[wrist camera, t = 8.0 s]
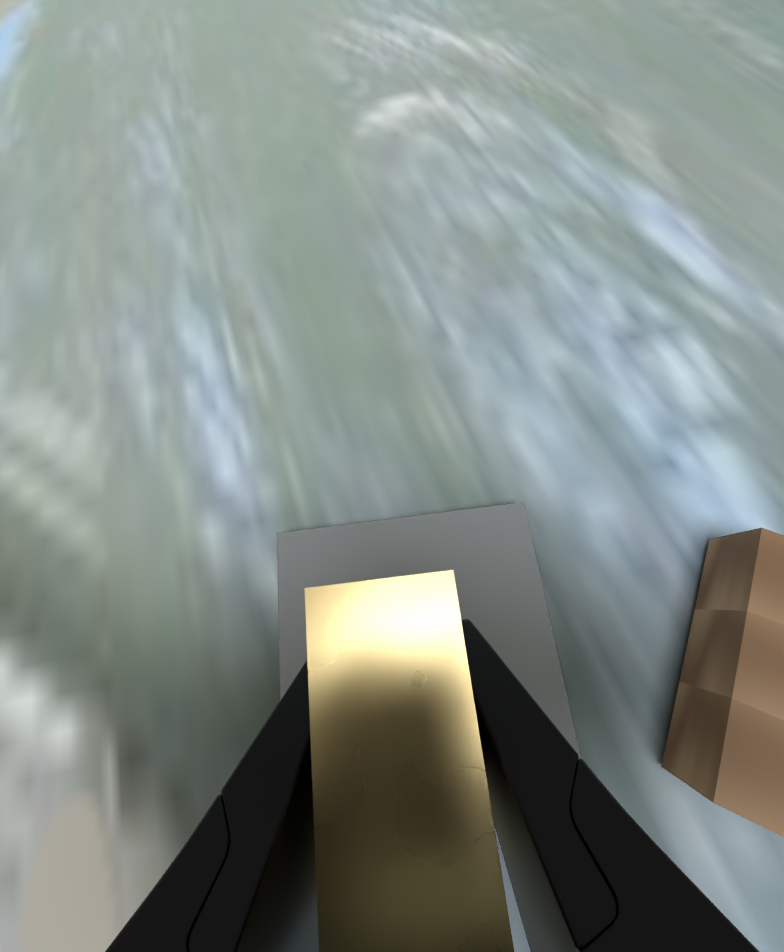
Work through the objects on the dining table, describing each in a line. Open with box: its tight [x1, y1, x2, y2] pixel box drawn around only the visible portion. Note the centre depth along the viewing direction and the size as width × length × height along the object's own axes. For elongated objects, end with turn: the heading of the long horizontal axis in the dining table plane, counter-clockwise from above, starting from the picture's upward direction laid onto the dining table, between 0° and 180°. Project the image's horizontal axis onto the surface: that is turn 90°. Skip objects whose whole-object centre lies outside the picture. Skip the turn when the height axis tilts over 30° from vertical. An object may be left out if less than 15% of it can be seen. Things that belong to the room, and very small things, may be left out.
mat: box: [277, 502, 581, 760], centre depth 17 cm, size 12×12×1 cm
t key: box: [305, 570, 514, 952], centre depth 10 cm, size 5×2×10 cm, turn 7°
